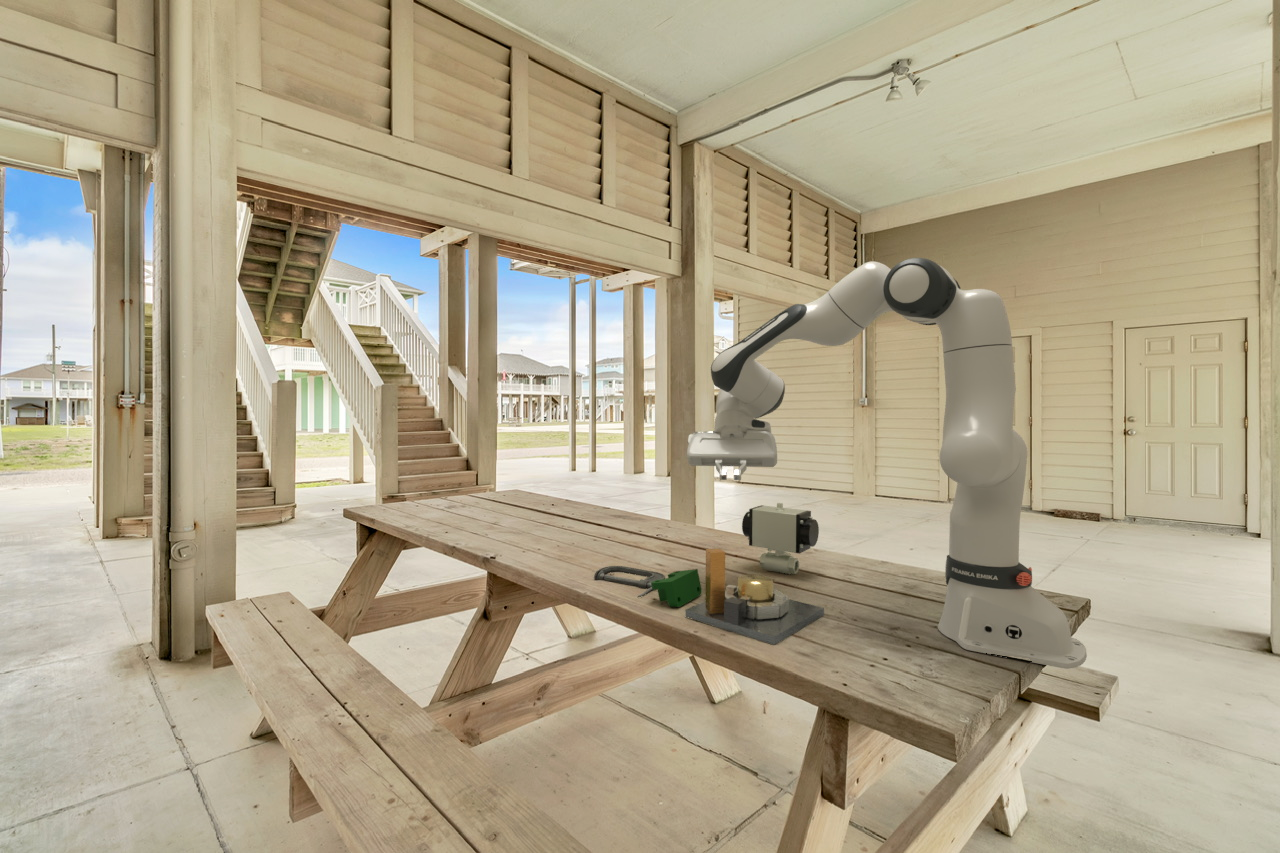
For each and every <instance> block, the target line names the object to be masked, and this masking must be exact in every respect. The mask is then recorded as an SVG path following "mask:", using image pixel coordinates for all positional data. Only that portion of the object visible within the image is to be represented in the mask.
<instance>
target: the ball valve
mask: <svg viewBox="0 0 1280 853" xmlns="http://www.w3.org/2000/svg"><path fill="white" fill-rule="evenodd" d="M819 527H820V526H819V523H818V521H817V519H815V518H813V517H812V511H811V510H807V509H797V508H787V507H784V504H783V502H777V503H776V506H770V505H769V506H768V505H764V504H763V505H762V504H761V505H758V506H757V505H756V506H755V507H751V508H749V509H748V511H746V513H745V514H744V515H743V518H742V522H741V531H742V534H743V536H745V537H747V540H748V546H750V547H756V548H763V549H767V553H765V552H764V553H762V554H761V555H760V557H759V566H760V568H761V569H765V571H768V570H769V572H774V573H779V572H780V573H781V574H784V573H785V575H790V574H791V573H792V574H791V575H794V574H797V573H798V572H799V568H800V560H799V558H798V557H796V558H795V557H794V556H793V555H791V553H793V554H799V555H800V554H802V553H804V552H806V551H808V550H810V549H811V548H813V547H815V546H816V544H817V542H818V539H819V533H820V532H819V530H820V528H819ZM772 551H774V552H772ZM780 573H779V574H780Z"/></svg>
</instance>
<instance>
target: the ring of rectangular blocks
mask: <svg viewBox="0 0 1280 853" xmlns="http://www.w3.org/2000/svg"><path fill="white" fill-rule="evenodd" d="M731 597H735V598H738V585H734V584H728V585H726V551H725V550H723V549H721V548H706V549H705V601H706V609H707V610H708V612H709V613H710V614H712V613H724V601H725V600H727V599H729V598H731ZM739 599H744V600H746V617H747V618H751V619H754V618H757V619H767V618H779V616H780V617H782V616H783V615H784V614H785V613H786V612H787V611H788V610H789V599H790V598H789V596H788V595H787V594H785V593H783V592H782V591H780V590H777V588H773V602H765V603H752V602H751V597H746V596H742V597H741V598H739Z"/></svg>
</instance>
